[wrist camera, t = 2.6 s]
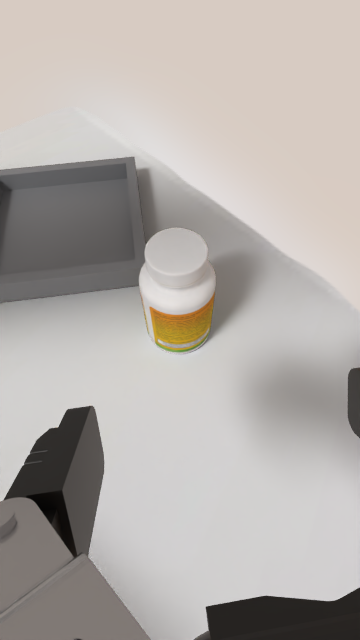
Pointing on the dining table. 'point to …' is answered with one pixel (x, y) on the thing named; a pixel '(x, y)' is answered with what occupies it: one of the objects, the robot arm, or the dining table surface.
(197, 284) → the supplement bottle
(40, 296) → the tray
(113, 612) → the robot arm
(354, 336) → the dining table surface
